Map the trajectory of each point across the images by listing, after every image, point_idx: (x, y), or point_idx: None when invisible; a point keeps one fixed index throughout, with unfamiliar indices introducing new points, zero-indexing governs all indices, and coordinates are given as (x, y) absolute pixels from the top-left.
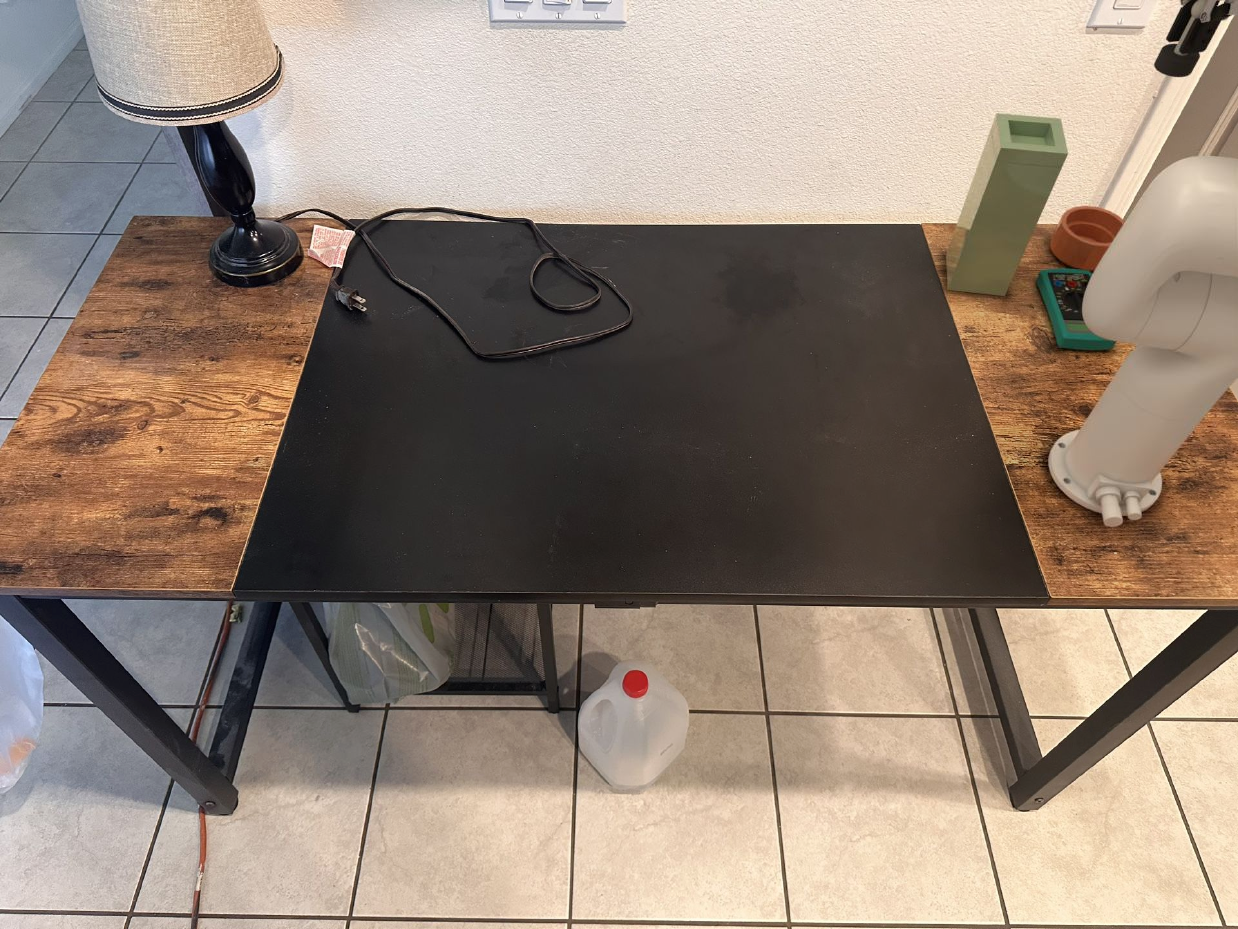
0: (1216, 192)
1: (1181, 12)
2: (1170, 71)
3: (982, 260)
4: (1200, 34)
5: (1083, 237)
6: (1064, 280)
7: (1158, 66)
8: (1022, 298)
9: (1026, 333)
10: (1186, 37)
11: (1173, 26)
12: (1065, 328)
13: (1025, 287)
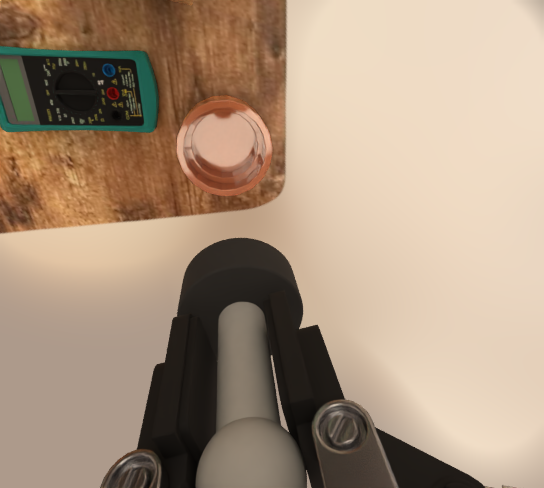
0: None
1: (288, 385)
2: (188, 272)
3: None
4: (150, 408)
5: (251, 149)
6: (120, 84)
7: (223, 245)
8: (104, 20)
9: (15, 3)
10: (179, 355)
11: (284, 328)
12: None
13: (133, 33)
